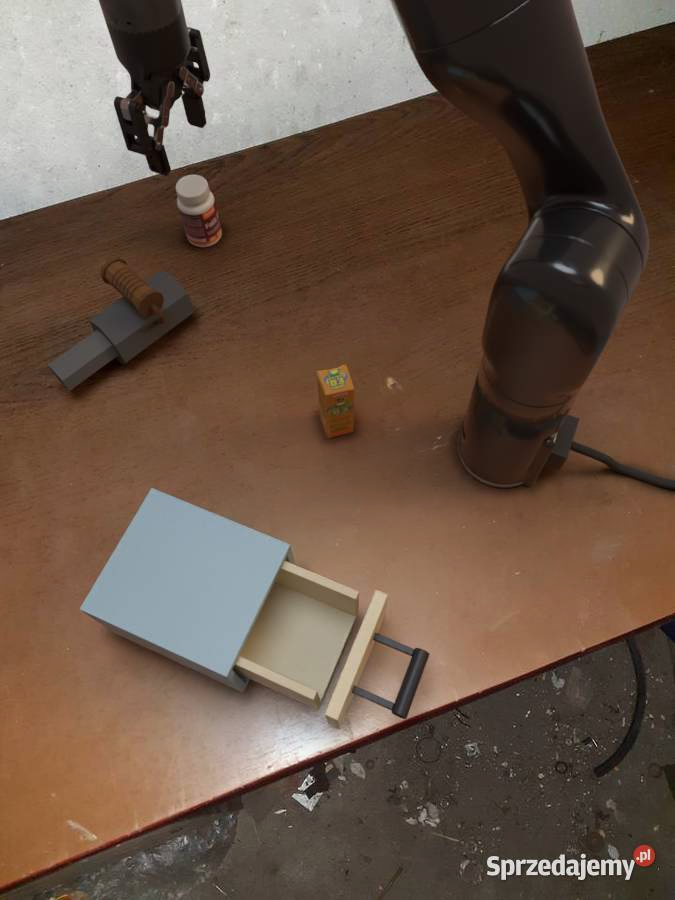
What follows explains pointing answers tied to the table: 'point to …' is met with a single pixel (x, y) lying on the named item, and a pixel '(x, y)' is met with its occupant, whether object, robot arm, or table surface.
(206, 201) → the pill bottle
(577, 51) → the robot arm
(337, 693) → the drawer
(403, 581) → the table surface
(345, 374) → the supplement box
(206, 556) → the blue drawer cabinet
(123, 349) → the mechanical component
